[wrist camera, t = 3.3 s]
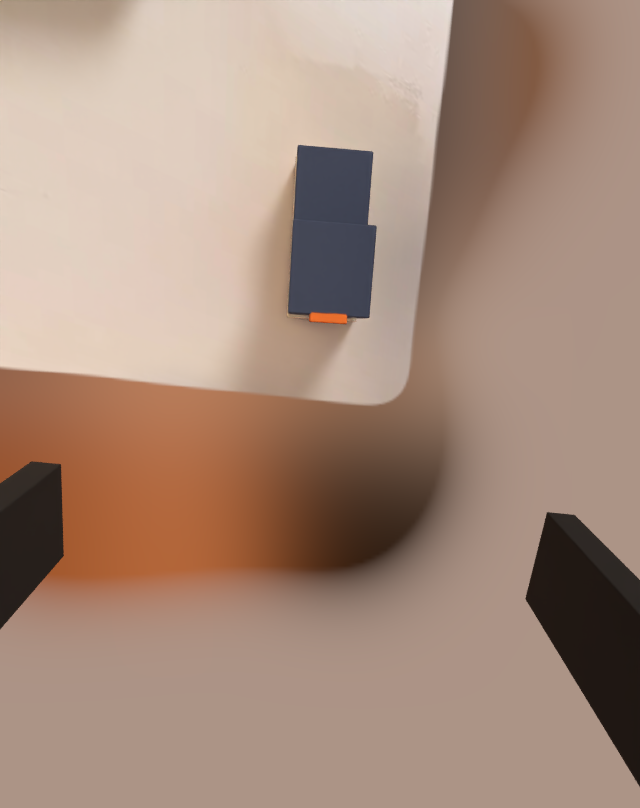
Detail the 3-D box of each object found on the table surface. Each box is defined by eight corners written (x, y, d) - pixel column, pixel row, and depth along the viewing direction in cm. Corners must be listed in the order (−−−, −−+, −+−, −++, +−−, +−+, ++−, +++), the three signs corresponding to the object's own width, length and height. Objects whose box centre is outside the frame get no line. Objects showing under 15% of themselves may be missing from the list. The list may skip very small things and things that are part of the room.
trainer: (353, 324, 36) (370, 325, 28) (287, 320, 35) (285, 319, 28) (365, 169, 34) (386, 123, 26) (295, 163, 34) (296, 115, 26)
